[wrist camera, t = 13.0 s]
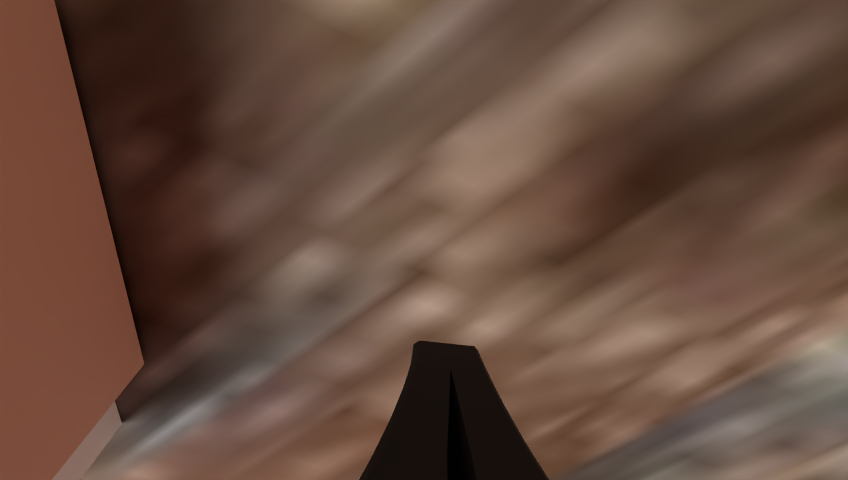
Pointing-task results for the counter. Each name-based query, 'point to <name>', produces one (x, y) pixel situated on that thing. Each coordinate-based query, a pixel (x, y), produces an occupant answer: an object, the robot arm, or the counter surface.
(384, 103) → the counter surface
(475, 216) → the counter surface
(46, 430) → the drawer
